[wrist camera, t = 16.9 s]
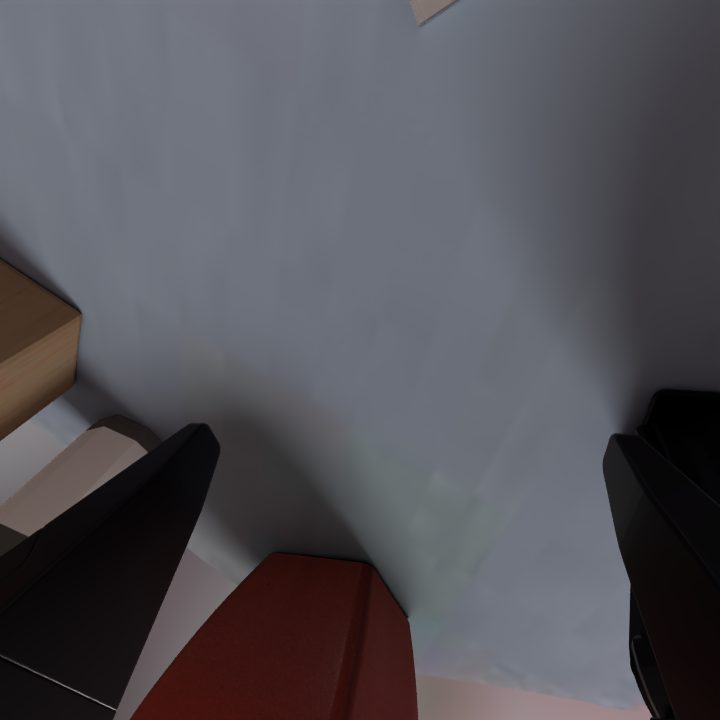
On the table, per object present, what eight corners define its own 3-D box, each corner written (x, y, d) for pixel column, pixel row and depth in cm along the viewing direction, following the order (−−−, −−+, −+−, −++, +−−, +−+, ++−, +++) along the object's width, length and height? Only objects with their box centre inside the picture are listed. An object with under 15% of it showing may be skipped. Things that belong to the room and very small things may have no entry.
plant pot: (305, 614, 52) (240, 795, 39) (230, 531, 43) (113, 731, 30) (446, 640, 44) (421, 881, 31) (390, 542, 34) (321, 828, 22)
